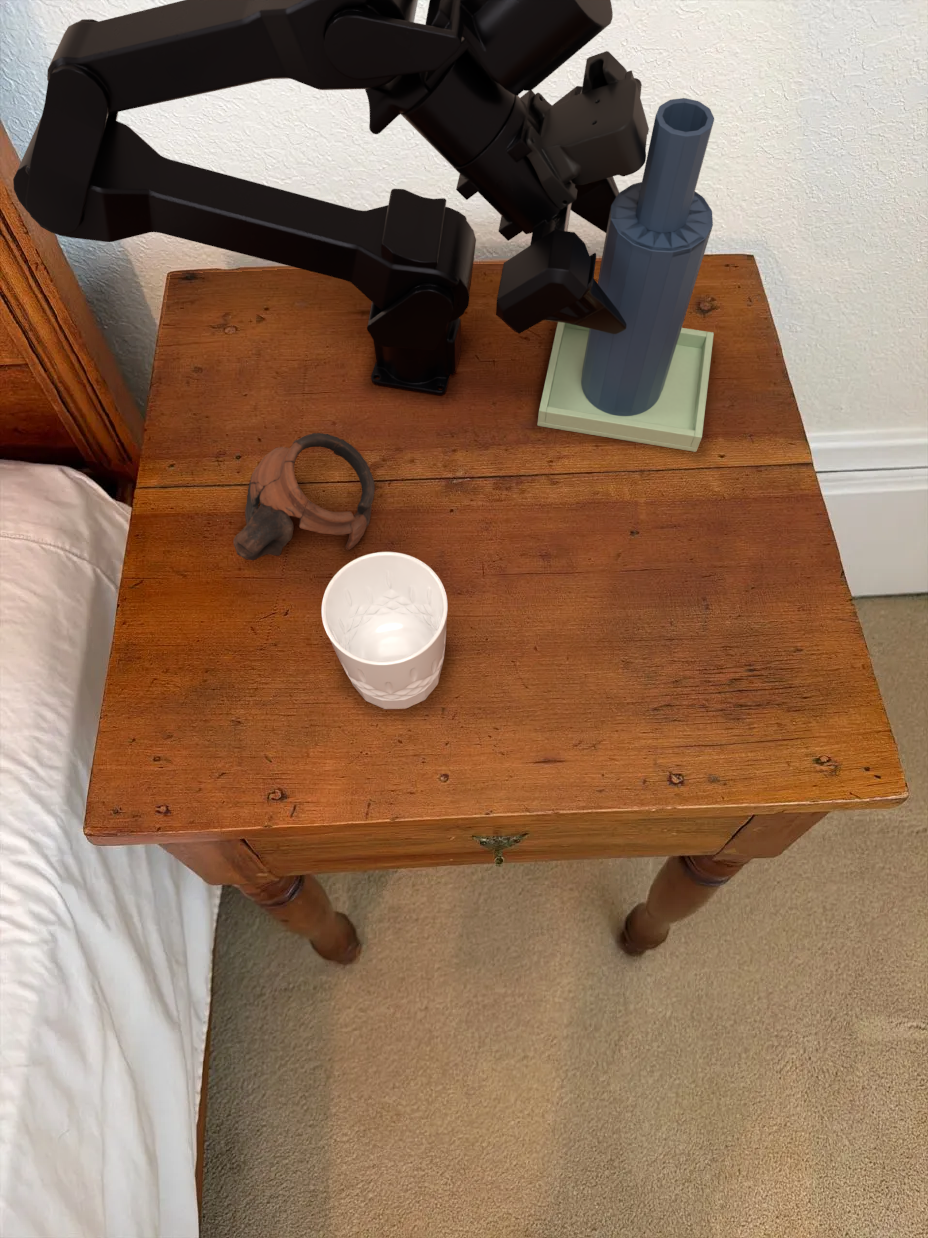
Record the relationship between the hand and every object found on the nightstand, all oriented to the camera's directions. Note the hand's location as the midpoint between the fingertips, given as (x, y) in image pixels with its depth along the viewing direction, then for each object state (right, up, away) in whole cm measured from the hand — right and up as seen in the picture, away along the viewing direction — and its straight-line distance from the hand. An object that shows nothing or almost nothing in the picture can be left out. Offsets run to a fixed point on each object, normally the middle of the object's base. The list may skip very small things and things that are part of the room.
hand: (626, 282), depth 65 cm
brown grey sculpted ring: (-25, -18, +4) cm, 31 cm away
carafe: (+1, -5, +9) cm, 11 cm away
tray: (+2, -5, +10) cm, 11 cm away
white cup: (-17, -28, -1) cm, 33 cm away
